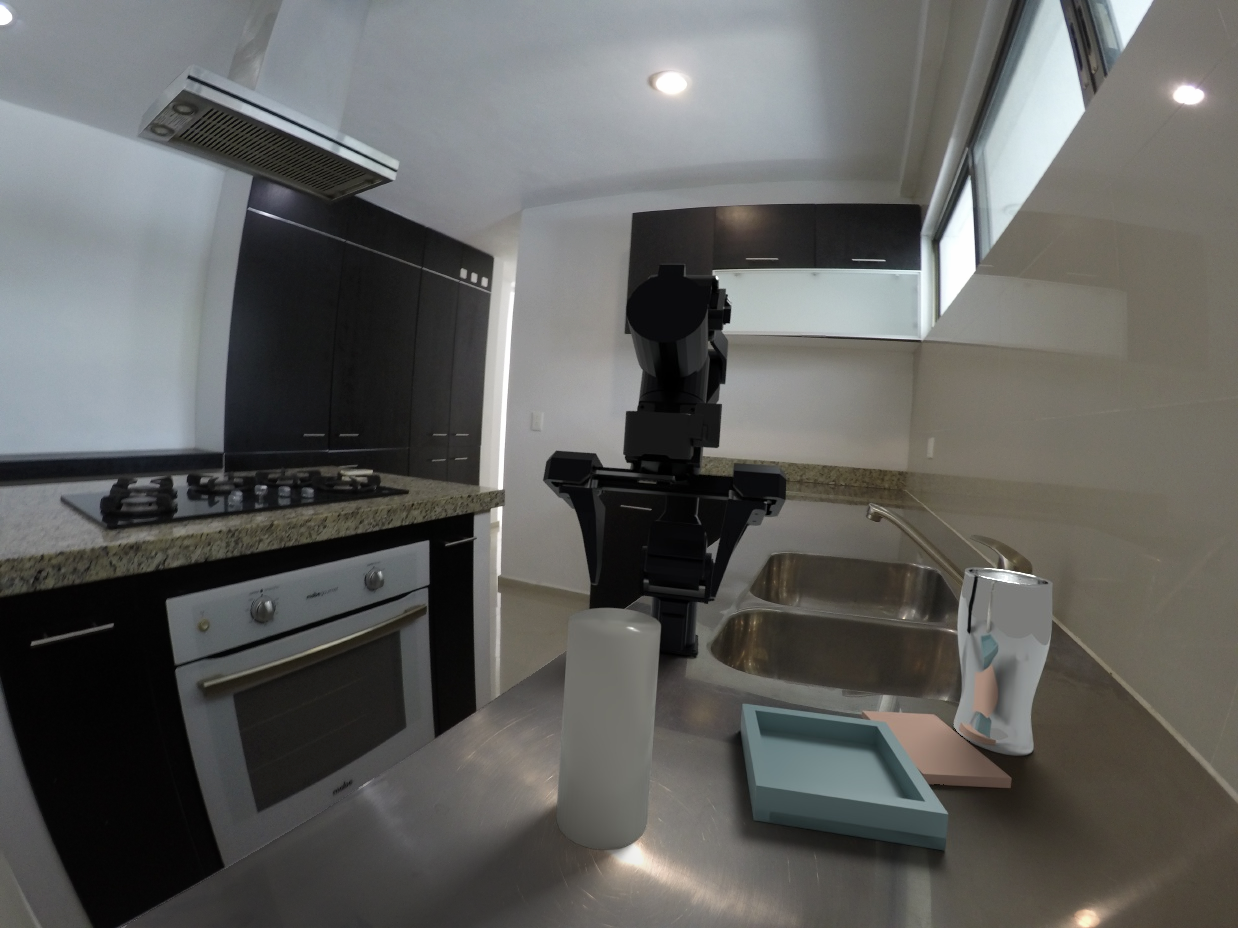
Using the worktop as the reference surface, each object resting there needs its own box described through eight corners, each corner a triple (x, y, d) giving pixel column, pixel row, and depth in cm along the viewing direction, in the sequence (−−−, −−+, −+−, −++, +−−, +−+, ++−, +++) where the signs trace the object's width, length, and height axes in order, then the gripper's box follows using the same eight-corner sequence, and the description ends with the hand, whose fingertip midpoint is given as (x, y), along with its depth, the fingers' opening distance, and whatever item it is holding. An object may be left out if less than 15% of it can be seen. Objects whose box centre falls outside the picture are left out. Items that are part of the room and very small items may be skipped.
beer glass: (997, 762, 46) (1014, 585, 46) (930, 721, 53) (944, 566, 53) (1059, 755, 48) (1076, 585, 48) (987, 716, 55) (1001, 566, 54)
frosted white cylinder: (568, 781, 40) (579, 604, 39) (650, 794, 39) (663, 613, 39) (545, 840, 34) (558, 631, 34) (642, 856, 33) (657, 643, 33)
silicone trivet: (861, 718, 53) (862, 710, 53) (933, 722, 53) (934, 714, 53) (922, 783, 43) (923, 773, 43) (1010, 787, 43) (1011, 777, 43)
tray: (740, 729, 49) (742, 703, 49) (883, 749, 47) (885, 721, 47) (753, 819, 37) (756, 785, 37) (945, 850, 35) (948, 813, 35)
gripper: (540, 353, 41) (501, 562, 37) (800, 363, 38) (793, 594, 33) (574, 414, 52) (546, 582, 47) (780, 425, 48) (773, 608, 44)
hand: (652, 590), depth 43 cm, fingers open, 9 cm apart
